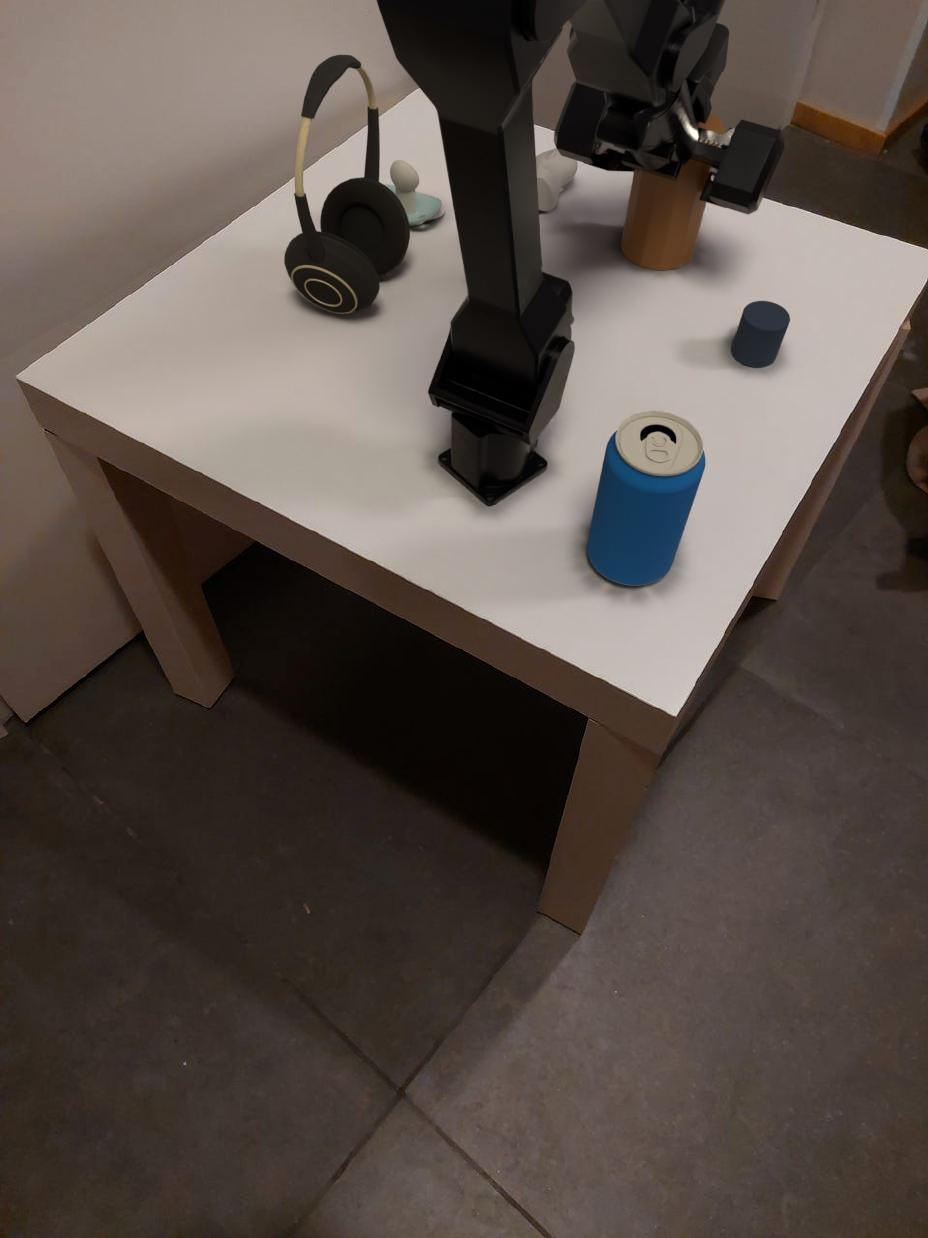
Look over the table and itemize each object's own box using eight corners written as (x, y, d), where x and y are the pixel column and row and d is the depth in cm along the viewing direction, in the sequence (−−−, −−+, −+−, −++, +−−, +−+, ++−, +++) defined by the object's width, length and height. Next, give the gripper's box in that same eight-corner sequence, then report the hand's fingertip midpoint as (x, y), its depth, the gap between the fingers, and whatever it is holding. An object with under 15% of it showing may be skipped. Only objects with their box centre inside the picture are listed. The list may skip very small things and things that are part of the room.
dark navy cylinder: (757, 374, 79) (770, 336, 76) (721, 350, 81) (733, 313, 77) (785, 354, 81) (799, 316, 77) (750, 331, 82) (762, 294, 79)
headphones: (424, 256, 88) (418, 30, 71) (362, 350, 80) (340, 121, 63) (344, 237, 89) (320, 11, 73) (275, 327, 82) (231, 98, 65)
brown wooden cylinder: (660, 279, 86) (691, 141, 75) (607, 245, 89) (629, 108, 78) (707, 250, 89) (744, 114, 78) (654, 219, 92) (682, 82, 81)
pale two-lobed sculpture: (542, 181, 97) (586, 178, 95) (512, 218, 93) (557, 216, 91) (534, 139, 94) (579, 136, 92) (502, 175, 90) (549, 173, 88)
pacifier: (393, 191, 94) (365, 220, 91) (390, 130, 89) (361, 158, 86) (456, 210, 92) (430, 239, 89) (457, 148, 87) (430, 177, 84)
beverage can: (670, 527, 69) (707, 409, 59) (673, 595, 66) (713, 483, 56) (586, 520, 69) (609, 402, 59) (584, 587, 66) (608, 474, 56)
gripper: (817, 26, 65) (813, 114, 80) (584, -33, 70) (620, 60, 85) (750, 183, 68) (757, 240, 82) (530, 115, 73) (574, 181, 87)
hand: (677, 176), depth 84 cm, fingers closed on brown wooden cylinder, 7 cm apart
